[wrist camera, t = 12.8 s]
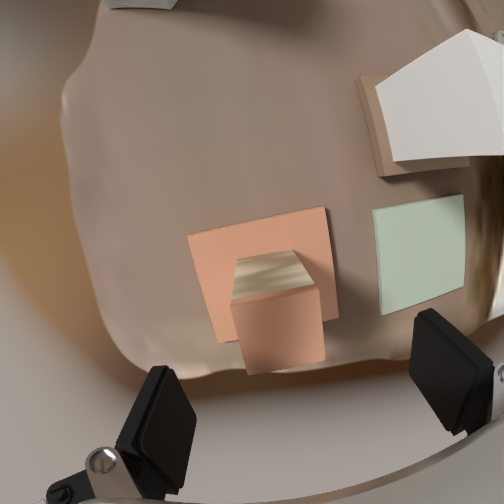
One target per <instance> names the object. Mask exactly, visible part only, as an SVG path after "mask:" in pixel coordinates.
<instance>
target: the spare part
mask: <svg viewBox="0 0 504 504" xmlns="http://www.w3.org/2000/svg"><path fill="white" fill-rule="evenodd" d="M230 309H231V313H232V317H233V321H234V325H235V329H236V332H237V336H238V340H239V344H240V348H241V351H242V355H243V359H244V362H245V366H246V370H247V373H248V375H252V374H259V373H264V372H271V371H276V370H282V369H287V368H292V367H297V366H302V365H306V364H311V363H315V362H320V361H324V360H325V348H324V336H323V325H322V315H321V305H320V296H319V289H318V288H317V286H316V285H315V283H314V282H313V280H312V279H311V277H310V276H309V274H308V273H307V271H306V269H305V268H304V266H303V265H302V263H301V262H300V260H299V259H298V257H297V256H296V254H295V253H294V251H293V250H292V249H287V250H282V251H277V252H272V253H267V254H261V255H256V256H251V257H246V258H241V259H237V261H236V268H235V275H234V282H233V289H232V296H231V304H230Z"/></svg>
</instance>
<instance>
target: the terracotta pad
mask: <svg viewBox="0 0 504 504" xmlns="http://www.w3.org/2000/svg"><path fill="white" fill-rule="evenodd" d="M187 238H188V242H189V245H190V249H191V253H192V256H193V260H194V264H195V267H196V271H197V275H198V278H199V282H200V285H201V288H202V292H203V295H204V299H205V302H206V305H207V309H208V312H209V315H210V318H211V321H212V325H213V328H214V331H215V334H216V337H217V340H218V343H222V342H228V341H234V340H238V336H237V332H236V329H235V325H234V321H233V317H232V313H231V309H230V304H231V296H232V289H233V282H234V275H235V268H236V261H237V259H241V258H246V257H251V256H256V255H261V254H267V253H272V252H277V251H282V250H287V249H292V250H293V251H294V253H295V254H296V256H297V257H298V259H299V260H300V262H301V263H302V265H303V266H304V268H305V269H306V271H307V273H308V274H309V276H310V277H311V279H312V280H313V282H314V283H315V285H316V286H317V288H318V289H319V296H320V305H321V315H322V322H324V321H328V320H332V319H336V318H339V313H338V302H337V293H336V284H335V275H334V267H333V259H332V252H331V245H330V238H329V232H328V225H327V219H326V213H325V208H324V206H320V207H315V208H310V209H305V210H300V211H295V212H290V213H285V214H280V215H275V216H270V217H266V218H261V219H256V220H251V221H247V222H242V223H238V224H233V225H229V226H224V227H220V228H215V229H211V230H207V231H202V232H198V233H194V234H189V235H188V236H187Z"/></svg>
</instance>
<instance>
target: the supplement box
mask: <svg viewBox="0 0 504 504" xmlns="http://www.w3.org/2000/svg"><path fill="white" fill-rule="evenodd" d="M101 1H102V2H103V3H104V4H105V5H106V7H107V8H108V9H111V8H124V7H143V8H160V9H169V10H171V9H172V8H173V7H174V5H175V4H176V2H177V1H178V0H101Z"/></svg>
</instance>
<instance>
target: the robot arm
mask: <svg viewBox="0 0 504 504" xmlns="http://www.w3.org/2000/svg"><path fill="white" fill-rule="evenodd" d="M494 41H496V42H498V43H500V44H502V45H504V30H500V31H498V32H496V33H495V35H494ZM409 374H410V377H411V378H412V380H413V381H414V383H415V384H416V386H417V387H418V388H419V390H420V391H421V393H422V394H423V396H424V397H425V399H426V400H427V402H428V403H429V405H430V406H431V408H432V409H433V411H434V412H435V414H436V415H437V417H438V418H439V420H440V422H441V423H442V425H443V426H444V428H445V429H446V430H447V431H451V433H452V434H453V436H455V435H457V434H458V433H460V432H462V431H463V430H466V432H467V437H465V438H464V439H462V440H460V441H458V442H457V443H455V444H453V445H451V446H449V447H448V448H446V449H444V450H442V451H440V452H438V453H436V454H434V455H432V456H430V457H428V458H426V459H424V460H422V461H419V462H417V463H415V464H413V465H410V466H408V467H406V468H403V469H401V470H398V471H396V472H393V473H391V474H388V475H385V476H382V477H379V478H377V479H374V480H371V481H368V482H365V483H361V484H358V485H355V486H351V487H347V488H343V489H340V490H336V491H332V492H327V493H322V494H317V495H313V496H307V497H301V498H296V499H289V500H280V501H272V502H261V503H245V504H504V362H501V363H500V364H498V365H497V366H496V368H495V367H494V366H493V361H492V360H491V359H490V358H489V357H487V356H486V355H485V354H484V353H483V352H482V351H481V350H480V349H479V348H478V347H477V346H476V345H474V344H473V343H472V342H471V341H470V340H469V339H468V338H467V337H466V336H464V335H463V334H462V333H461V332H460V331H459V330H458V329H456V328H455V327H454V326H453V325H452V324H451V323H449V322H448V321H447V320H446V319H445V318H444V317H442V316H441V315H440V314H439V313H438V312H436V311H435V310H434V309H432V308H429V309H426V310H424V311H421V312H419V313H418V315H417V317H415V319H414V329H413V340H412V349H411V357H410V364H409ZM196 422H197V419H196V414H195V412H194V410H193V408H192V406H191V405H190V403H189V401H188V399H187V397H186V395H185V393H184V391H183V389H182V387H181V385H180V383H179V380H178V378H177V376H176V374H175V372H174V370H173V369H169V367H168V366H166V365H164V366H153V367H152V368H151V370H150V372H149V374H148V376H147V378H146V380H145V382H144V384H143V386H142V388H141V390H140V392H139V394H138V396H137V398H136V401H135V402H134V405H133V407H132V409H131V411H130V413H129V415H128V417H127V419H126V422H125V424H124V426H123V428H122V430H121V432H120V435H119V437H118V439H117V441H116V445H115V448H111V447H100V448H97V449H95V450H94V451H92V452H91V453H90V454H89V455H88V457H87V458H86V462H85V467H86V469H85V470H83V471H81V472H79V473H77V474H74V475H72V476H70V477H67V478H65V479H63V480H60V481H58V482H55V483H54V484H52V485H51V486H50V487H49V489H48V490H47V494H46V499H47V500H46V501H45V500H44V499H41V500H40V501H39V502H37V503H36V504H199V503H182V502H170V501H165V495H166V494H175V495H178V492H179V488H182V487H183V485H184V481H185V476H186V470H187V466H188V460H189V456H190V451H191V446H192V441H193V437H194V432H195V427H196Z"/></svg>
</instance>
